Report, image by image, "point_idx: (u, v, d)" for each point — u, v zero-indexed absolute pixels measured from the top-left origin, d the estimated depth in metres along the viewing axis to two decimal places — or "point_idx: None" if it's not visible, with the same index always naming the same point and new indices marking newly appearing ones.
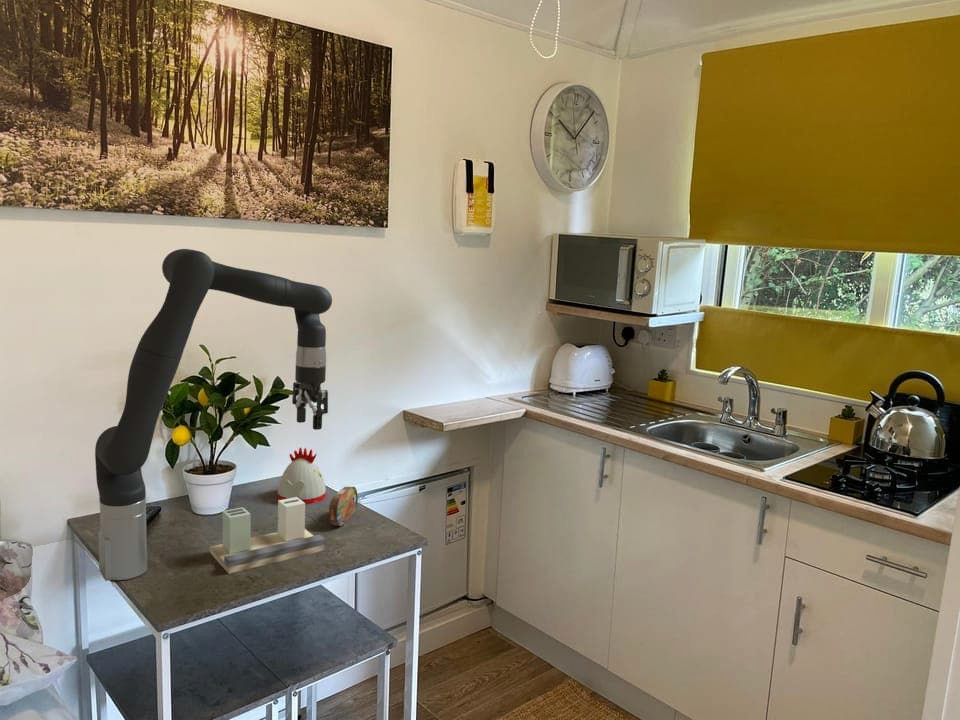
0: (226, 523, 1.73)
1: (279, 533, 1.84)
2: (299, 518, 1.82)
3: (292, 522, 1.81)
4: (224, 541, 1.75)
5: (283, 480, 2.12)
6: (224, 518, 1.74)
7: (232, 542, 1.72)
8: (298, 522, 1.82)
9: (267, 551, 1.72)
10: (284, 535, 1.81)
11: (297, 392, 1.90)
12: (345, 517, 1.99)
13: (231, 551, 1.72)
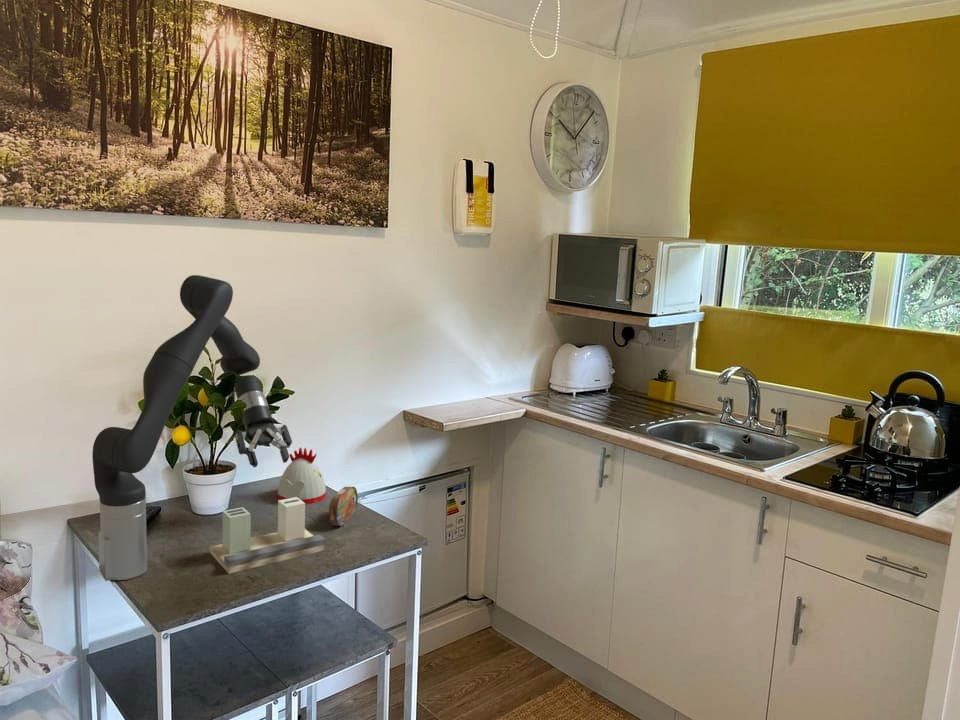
0: (226, 523, 1.73)
1: (279, 533, 1.84)
2: (299, 518, 1.82)
3: (292, 522, 1.81)
4: (224, 541, 1.75)
5: (283, 480, 2.12)
6: (224, 518, 1.74)
7: (232, 542, 1.72)
8: (298, 522, 1.82)
9: (267, 551, 1.72)
10: (284, 535, 1.81)
11: None
12: (345, 517, 1.99)
13: (231, 551, 1.72)
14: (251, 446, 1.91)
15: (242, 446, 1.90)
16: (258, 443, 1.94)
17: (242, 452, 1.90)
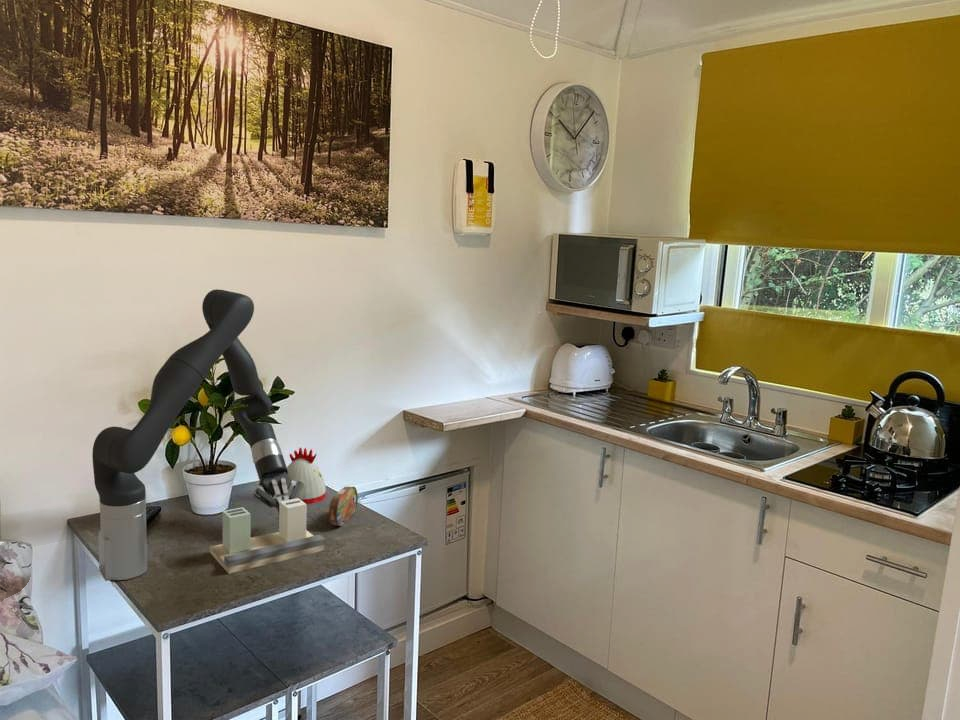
0: (226, 523, 1.73)
1: (280, 534, 1.83)
2: (301, 519, 1.82)
3: (293, 523, 1.81)
4: (224, 541, 1.75)
5: None
6: (224, 518, 1.74)
7: (232, 542, 1.72)
8: (299, 523, 1.81)
9: (267, 551, 1.72)
10: (285, 536, 1.81)
11: None
12: (345, 517, 1.99)
13: (231, 551, 1.72)
14: (279, 499, 1.86)
15: (271, 500, 1.85)
16: (279, 492, 1.89)
17: (272, 505, 1.86)
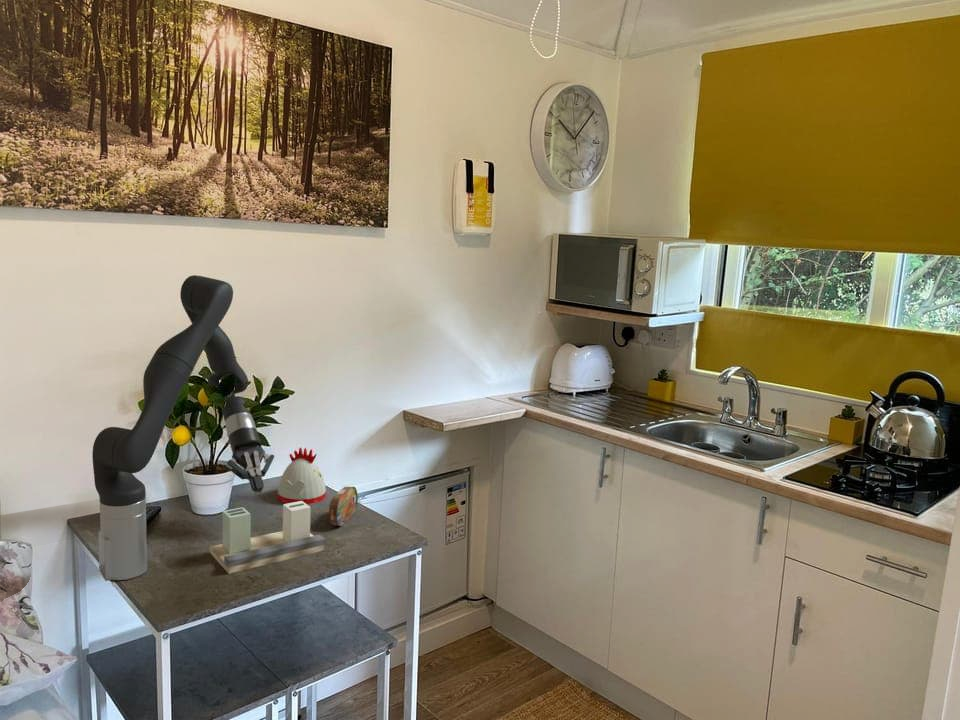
0: (226, 523, 1.73)
1: (284, 537, 1.81)
2: (304, 522, 1.80)
3: (297, 526, 1.79)
4: (224, 541, 1.75)
5: (283, 480, 2.12)
6: (224, 518, 1.74)
7: (232, 542, 1.72)
8: (303, 526, 1.80)
9: (267, 551, 1.72)
10: (289, 539, 1.79)
11: None
12: (345, 517, 1.99)
13: (231, 551, 1.72)
14: (251, 471, 1.88)
15: (243, 472, 1.86)
16: None
17: (244, 477, 1.87)
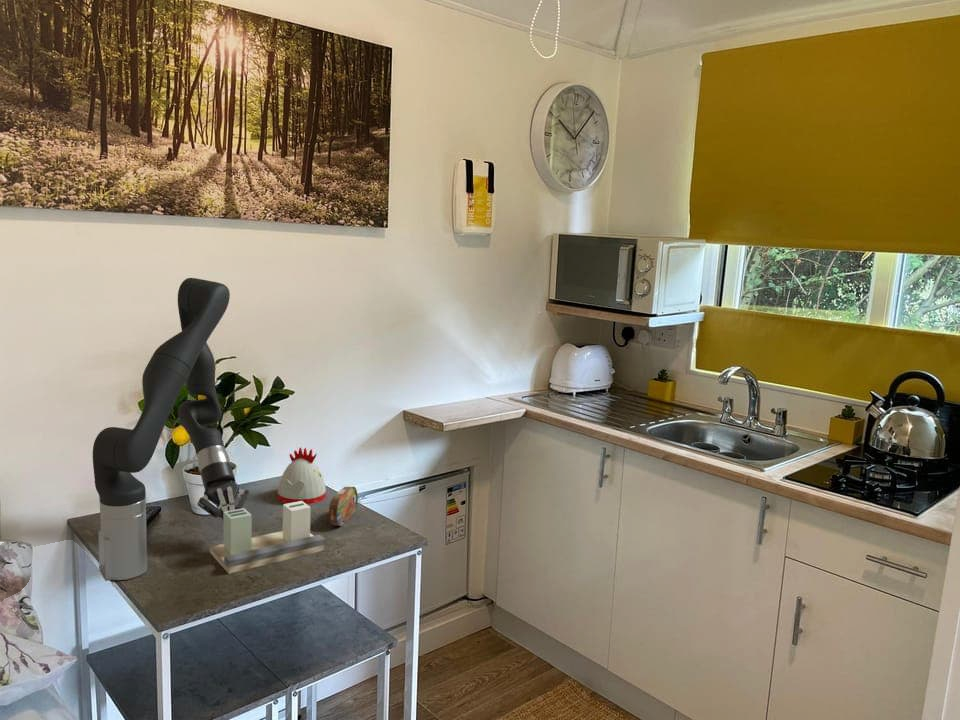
0: (227, 524, 1.72)
1: (284, 537, 1.81)
2: (304, 522, 1.80)
3: (297, 526, 1.79)
4: (225, 542, 1.74)
5: (283, 480, 2.12)
6: (225, 519, 1.73)
7: (233, 543, 1.72)
8: (303, 526, 1.80)
9: (267, 551, 1.72)
10: (289, 539, 1.79)
11: None
12: (345, 517, 1.99)
13: (232, 552, 1.72)
14: (224, 509, 1.78)
15: (216, 510, 1.76)
16: None
17: (217, 515, 1.77)
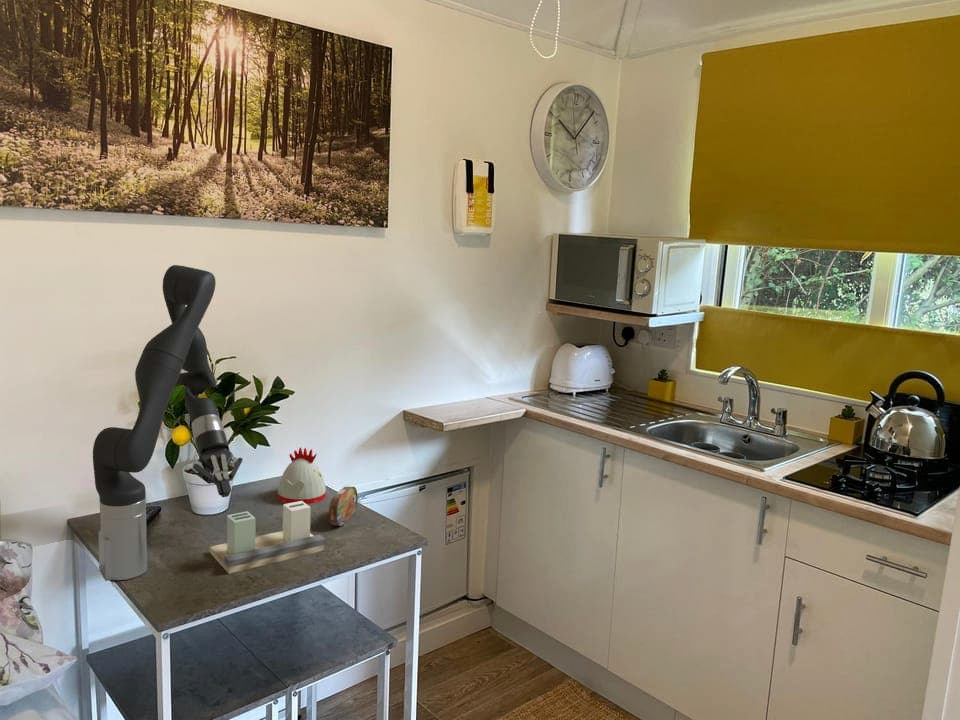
0: (231, 527, 1.70)
1: (284, 537, 1.81)
2: (304, 522, 1.80)
3: (297, 526, 1.79)
4: (228, 546, 1.72)
5: (283, 480, 2.12)
6: (229, 522, 1.71)
7: (236, 546, 1.70)
8: (303, 526, 1.80)
9: (267, 551, 1.72)
10: (289, 539, 1.79)
11: None
12: (345, 517, 1.99)
13: None
14: (218, 475, 1.82)
15: (209, 476, 1.81)
16: (219, 468, 1.85)
17: (210, 481, 1.82)
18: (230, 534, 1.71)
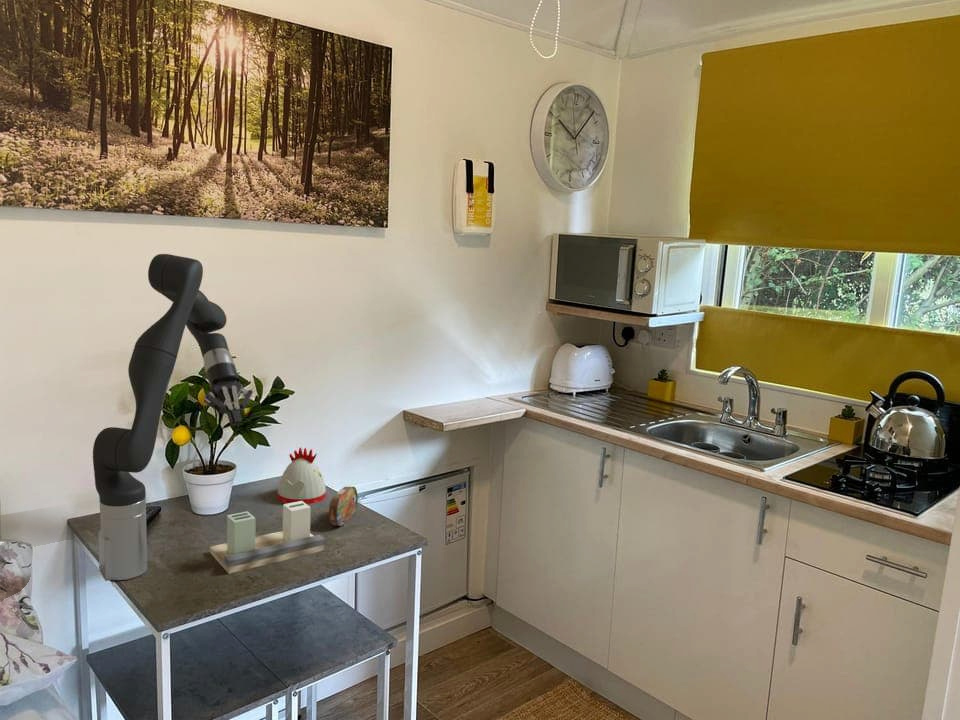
0: (231, 527, 1.70)
1: (284, 537, 1.81)
2: (304, 522, 1.80)
3: (297, 526, 1.79)
4: (228, 546, 1.72)
5: (283, 480, 2.12)
6: (229, 522, 1.71)
7: (236, 546, 1.70)
8: (303, 526, 1.80)
9: (267, 551, 1.72)
10: (289, 539, 1.79)
11: None
12: (345, 517, 1.99)
13: None
14: (229, 405, 1.88)
15: (221, 405, 1.87)
16: None
17: (222, 411, 1.88)
18: (230, 534, 1.71)
